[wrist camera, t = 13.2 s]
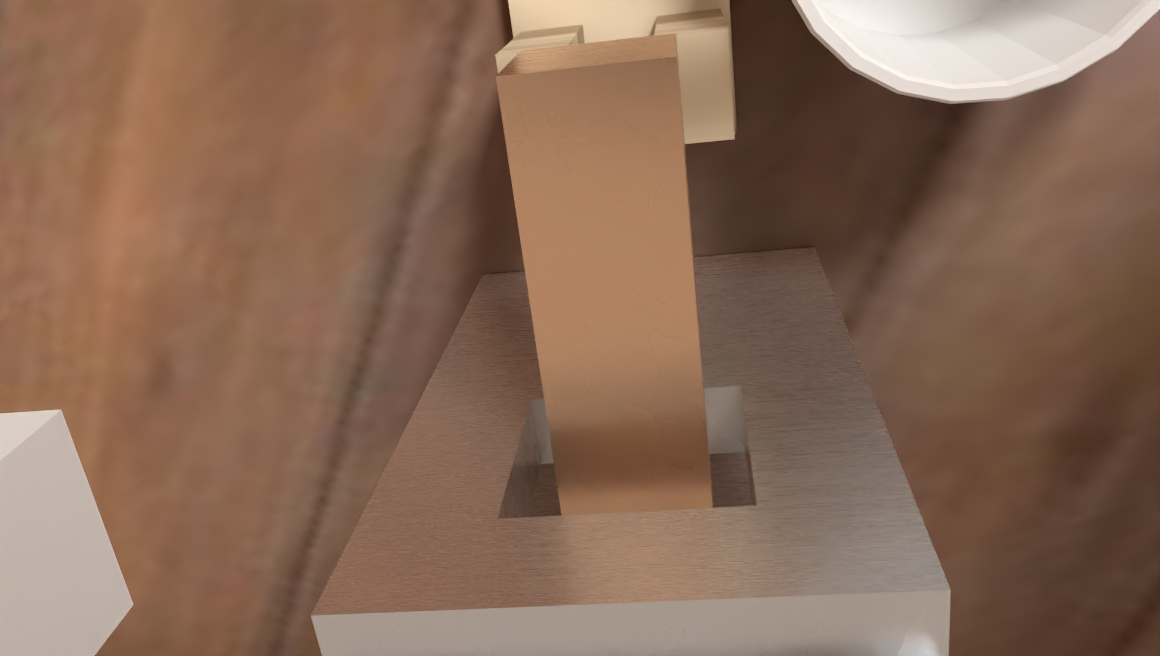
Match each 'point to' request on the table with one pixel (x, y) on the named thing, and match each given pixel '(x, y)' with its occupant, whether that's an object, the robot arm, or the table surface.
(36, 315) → the table surface
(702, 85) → the rack
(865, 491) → the twin slotted uprights
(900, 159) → the table surface
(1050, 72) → the mug
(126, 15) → the table surface
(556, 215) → the block
